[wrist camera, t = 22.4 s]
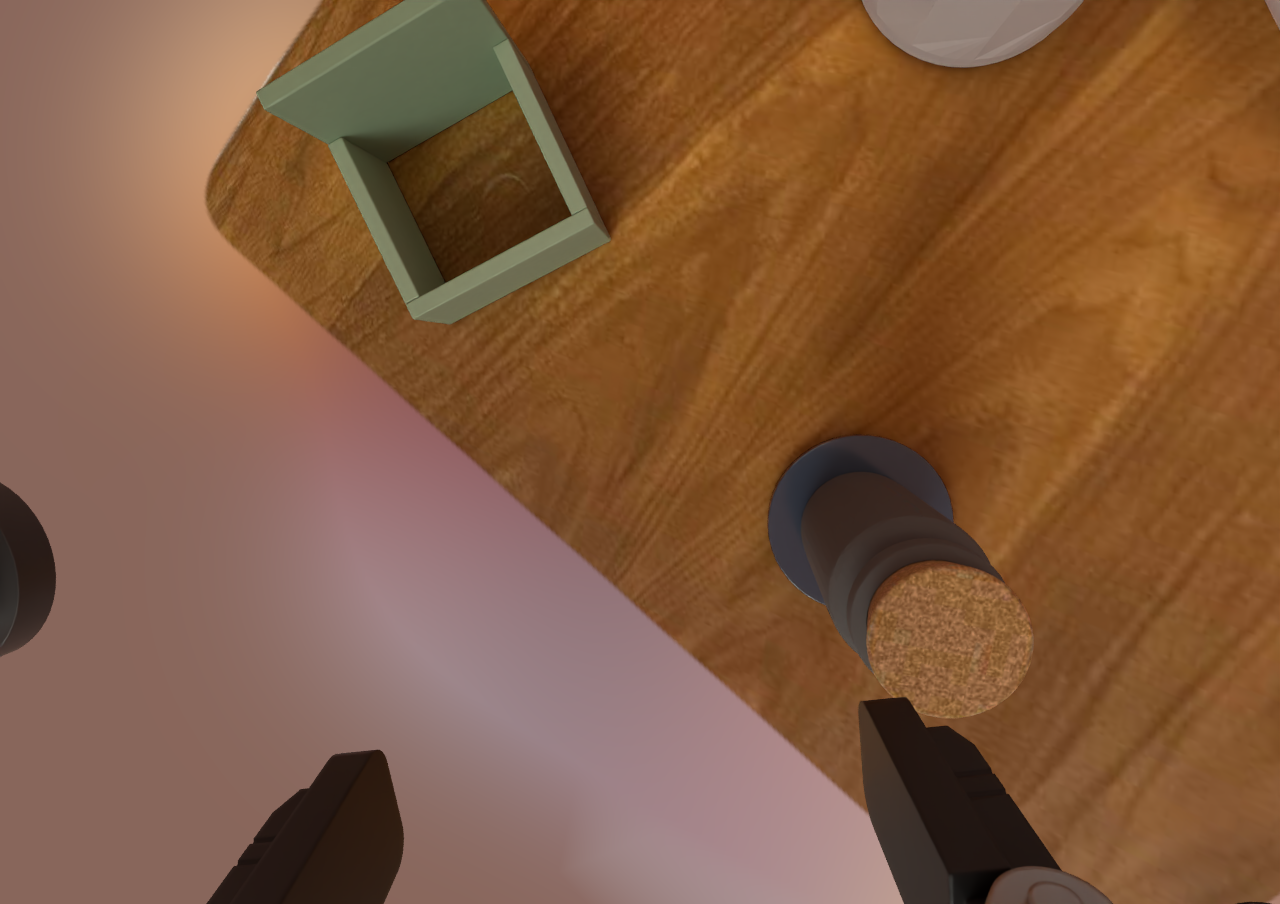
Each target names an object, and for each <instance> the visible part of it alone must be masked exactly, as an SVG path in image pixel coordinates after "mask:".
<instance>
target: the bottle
mask: <svg viewBox="0 0 1280 904" xmlns="http://www.w3.org/2000/svg"><path fill="white" fill-rule="evenodd" d="M801 538H802V543H803V546H804V550H805V553H806V556H807V558H808V561H809V564H810V566H811V569H812V571H813V574H814V576H815V579H816V581H817V584H818V586H819V589H820V592H821V594H822V597H823V599H824V602H825V604H826V607H827V609H828V611H829V614H830V616H831V618H832V620H833V622H834V624H835V627H836V628H837V630H838V631H839V633H840V635H841V636H842V637H843V639H844V640H845V641H846V643H847V644H848V645H849V646H850V647H851V648H852V649H853V650H854V651H855V652H856V653H858V654H859V656H860V658H861V659H862V660H863V662H864V663H865V665H866V666H867V667H868V668H869V669H870V670H871V672H873V673H874V674H875V676H876V678H877V679H878V681H879V683H880V684H881V685H882V686H883V687H884V689H885V690H886V691H887V692H888V693H889V694H890V695H891V696H892V697H893V698H898V697H907V698H908V699H909V701H910V702H911V704H912V705H913V707H914V709H915V710H916V712H919V713H921V714H925V715H928V716H933V717H938V718H962V717H967V716H971V715H975V714H979V713H983V712H985V711H987V710H989V709H991V708H993V707H995V706H996V705H998V704H999V703H1001V702H1002V701H1004V700H1005V699H1006V698H1008V697H1009V696H1010V695H1011V694H1012V693H1013V692H1014V691H1015V689H1016V688H1017V687H1018V686H1019V684H1020V683H1021V681H1022V680H1023V679H1024V677H1025V675H1026V672H1027V670H1028V668H1029V665H1030V663H1031V658H1032V653H1033V643H1034V639H1033V630H1032V625H1031V621H1030V618H1029V615H1028V613H1027V611H1026V608H1025V607H1024V605H1023V604H1022V602H1021V601H1020V599H1019V598H1018V597H1017V595H1016V594H1015V593H1014V592H1013V591H1012V590H1011V589H1010V588H1009V587H1008V586H1007V585H1006V584H1005V582H1004V581H1003V579H1002V577H1001V576H1000V575H999V573H998V572H997V571H996V570H995V569H994V567H992V566H991V565H990V562H989V560H988V558H987V557H986V555H985V553H984V552H983V550H982V549H981V548H980V546H979V545H978V544H977V543H976V541H975V540H973V539H972V538H971V537H970V536H969V535H968V534H967V533H966V532H965V531H964V530H962V529H961V528H960V527H958V526H957V525H956V524H954V523H953V522H952V521H950V520H949V519H948V518H946V517H945V516H944V515H942V514H941V513H939V512H938V511H937V510H935V509H934V508H932V507H931V506H930V505H928V504H927V503H925V502H924V501H923V500H921V499H920V498H918V497H917V496H916V495H914V494H913V493H911V492H910V491H909V490H907V489H906V488H904V487H903V486H901V485H900V484H898V483H897V482H895V481H893V480H891V479H889V478H887V477H885V476H882V475H879V474H875V473H870V472H851V473H847V474H843V475H839V476H837V477H835V478H833V479H831V480H829V481H827V482H826V483H824V484H823V485H822V486H821V487H820V488H818V489H817V490H816V492H815V493H814V494H813V495H812V497H811V498H810V500H809V501H808V503H807V504H806V507H805V509H804V512H803V516H802V520H801Z"/></svg>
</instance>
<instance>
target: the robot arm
mask: <svg viewBox="0 0 1280 904" xmlns="http://www.w3.org/2000/svg"><path fill="white" fill-rule="evenodd" d="M859 728H860V742H861V756H862V771H863V784H864V792H865V798H866V803H867V807H868V811H869V815H870V819H871V822H872V825H873V827H874V830H875V832H876V835H877V837H878V840H879V842H880V845H881V847H882V850H883V852H884V855H885V857H886V860H887V862H888V865H889V867H890V870H891V872H892V875H893V877H894V880H895V882H896V885H897V887H898V889H899V892H900V895H901V897H902V900H903V902H904V904H1113V903H1112V902H1111V901H1110V900H1109V899H1108V897H1106V896H1105V895H1104V894H1103V893H1102V892H1100V891H1099V890H1098V889H1097V888H1095V887H1094V886H1092V885H1091V884H1089V883H1088V882H1086V881H1084V880H1082V879H1080V878H1078V877H1076V876H1074V875H1071V874H1069V873H1067V872H1063V871H1062V870H1061V869H1060V867H1059V866H1058V865H1057V863H1056V862H1055V860H1054V859H1053V857H1052V856H1051V854H1050V853H1049V852H1048V850H1047V849H1046V847H1045V846H1044V844H1043V843H1042V841H1041V840H1040V839H1039V837H1038V836H1037V834H1036V833H1035V831H1034V830H1033V828H1032V827H1031V826H1030V824H1029V823H1028V821H1027V820H1026V818H1025V817H1024V815H1023V814H1022V813H1021V811H1020V810H1019V808H1018V807H1017V805H1016V804H1015V802H1014V801H1013V800H1012V798H1011V797H1010V795H1009V794H1006V791H1005V788H1004V787H1003V785H1002V784H1001V782H1000V781H999V779H998V778H997V777H996V775H995V774H992V771H991V768H990V766H989V765H988V764H987V762H986V761H985V759H984V758H983V756H982V755H981V753H980V752H979V751H978V749H977V748H976V746H975V745H974V744H973V743H971V742H970V741H968V740H967V739H966V738H964V737H963V736H961V735H960V734H958V733H957V732H955V731H954V730H953V729H951V728H950V727H948V726H938V727H928V728H926V727H925V725H924V723H923V722H922V720H921V718H920V717H919V715H918V714H917V712H916V710H915V709H914V707H913V705H912V704H911V702H910V701H909V699H908V698H907V697H898V698H888V699H878V700H869V701H860V703H859ZM403 843H404V833H403V826H402V821H401V817H400V813H399V809H398V805H397V800H396V796H395V792H394V788H393V784H392V780H391V775H390V771H389V768H388V763H387V760H386V757H385V755H384V754H383V752H382V751H380V750H371V751H361V752H351V753H341V754H335V755H333V756H332V757H331V758H330V759H329V760H328V762H327V763H326V764H325V766H324V767H323V769H322V770H321V772H320V773H319V775H318V776H317V777H316V779H315V780H314V782H313V783H312V785H311V786H310V788H308V789H301V790H299V791H298V792H297V793H296V794H295V795H294V796H292V797H291V798H290V799H289V800H287V801H286V802H285V803H284V804H283V805H282V806H280V807H279V808H278V809H277V810H275V811H274V812H273V813H272V814H271V816H270V817H269V819H268V820H267V821H266V823H265V824H264V825H263V827H262V828H261V829H260V831H259V832H258V834H257V835H256V836H255V838H254V843H253V844H250V845H249V846H248V847H247V849H246V850H245V851H244V853H243V854H242V856H241V857H240V858H239V860H238V865H237V866H234V867H233V868H232V870H231V871H230V872H229V874H228V875H227V876H226V878H225V879H224V880H223V882H222V883H221V885H220V886H219V887H218V889H217V890H216V891H215V893H214V894H213V896H212V897H211V898H210V900H209V901H208V902H207V904H384V902H385V899H386V897H387V895H388V892H389V890H390V888H391V885H392V883H393V881H394V879H395V877H396V874H397V872H398V870H399V867H400V864H401V859H402V854H403V845H404V844H403ZM1237 904H1270V903H1263V902H1244V903H1237Z"/></svg>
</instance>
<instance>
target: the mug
mask: <svg viewBox="0 0 1280 904" xmlns="http://www.w3.org/2000/svg"><path fill="white" fill-rule="evenodd" d="M1083 1H1084V0H862V2H863V4H864V7H865V9H866V11H867V13H868V14H869V16H870V18H871V19H872V21H873V23H874V24H875V25H876V26H877V27H878V29H879V30H880V31H881V32H882V34H883V35H884V36H885V37H887V38H888V39H889V40H890V41H891V42H892V43H893V44H894V45H896V46H897V47H899V48H900V49H902V50H903V51H905V52H906V53H908V54H910V55H912V56H914V57H916V58H919V59H921V60H924V61H927V62H930V63H933V64H937V65H943V66H948V67H976V66H984V65H988V64H992V63H997V62H1000V61H1003V60H1005V59H1008V58H1011V57H1014V56H1016V55H1018V54H1020V53H1022V52H1024V51H1026V50H1028V49H1029V48H1031V47H1032V46H1034V45H1035V44H1037V43H1038V42H1040V41H1041V40H1043V39H1044V38H1046V37H1047V36H1048V35H1049V34H1050V33H1051V32H1053V31H1054V30H1055V29H1056V28H1057V27H1058V26H1060V25H1061V24H1062V23H1063V22H1064V21H1065V20H1067V19H1068V18H1069V17H1070V16H1071V15H1072V13H1073V12H1074V11H1075V10H1076V9H1077V8H1078V7H1079V6H1080V5H1081V3H1082V2H1083Z"/></svg>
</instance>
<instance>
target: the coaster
mask: <svg viewBox="0 0 1280 904" xmlns="http://www.w3.org/2000/svg"><path fill="white" fill-rule="evenodd" d="M851 472H870V473H875V474H879V475H882V476H885V477H887V478H889V479H891V480H893V481H895V482H897V483H898V484H900V485H901V486H903V487H904V488H906V489H907V490H909V491H910V492H911V493H913V494H914V495H916V496H917V497H918V498H920V499H921V500H923V501H924V502H925V503H927V504H928V505H930V506H931V507H932V508H934V509H935V510H937V511H938V512H939V513H941V514H942V515H944V516H945V517H946V518H948V519H949V520H950V521H952V522H953V510H952V506H951V501H950V498H949V495H948V492H947V489H946V487H945V485H944V483H943V482H942V480H941V478H940V476H939V475H938V474H937V472H936V471H935V470H934V468H933V467H932V466H931V465H930V464H929V463H928V462H927V461H926V460H925V459H924V458H923V457H921V456H920V455H919V454H918V453H916V452H915V451H913V450H912V449H910V448H908V447H907V446H905V445H903V444H900V443H898V442H896V441H893V440H891V439H887V438H884V437H880V436H874V435H862V434H855V435H845V436H840V437H836V438H832V439H829V440H826V441H824V442H821V443H819V444H817V445H815V446H813V447H811V448H810V449H808V450H807V451H805V452H804V453H802V454H801V455H800V456H799V457H798V458H797V459H795V460H794V461H793V462H792V463H791V464H790V466H789V467H788V468H787V469H786V470H785V471H784V473H783V474H782V476H781V478H780V479H779V481H778V483H777V485H776V487H775V489H774V491H773V494H772V497H771V500H770V504H769V510H768V535H769V540H770V544H771V548H772V551H773V554H774V556H775V559H776V561H777V563H778V565H779V566H780V568H781V570H782V571H783V573H784V574H785V575H786V577H787V578H788V579H789V580H790V581H791V582H792V584H793V585H794V586H795V587H796V588H798V589H799V590H800V591H801V592H803V593H804V594H805V595H807V596H808V597H810V598H812V599H813V600H815V601H817V602H819V603H821V604H824V605H826V604H825V602H824V599H823V597H822V594H821V592H820V589H819V586H818V584H817V581H816V579H815V576H814V574H813V571H812V569H811V566H810V564H809V561H808V558H807V556H806V553H805V550H804V546H803V543H802V538H801V520H802V516H803V512H804V509H805V507H806V504H807V503H808V501H809V500H810V498H811V497H812V495H813V494H814V493H815V492H816V490H817V489H818V488H820V487H821V486H822V485H823V484H824V483H826V482H827V481H829V480H831V479H833V478H835V477H837V476H839V475H843V474H847V473H851Z"/></svg>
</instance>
